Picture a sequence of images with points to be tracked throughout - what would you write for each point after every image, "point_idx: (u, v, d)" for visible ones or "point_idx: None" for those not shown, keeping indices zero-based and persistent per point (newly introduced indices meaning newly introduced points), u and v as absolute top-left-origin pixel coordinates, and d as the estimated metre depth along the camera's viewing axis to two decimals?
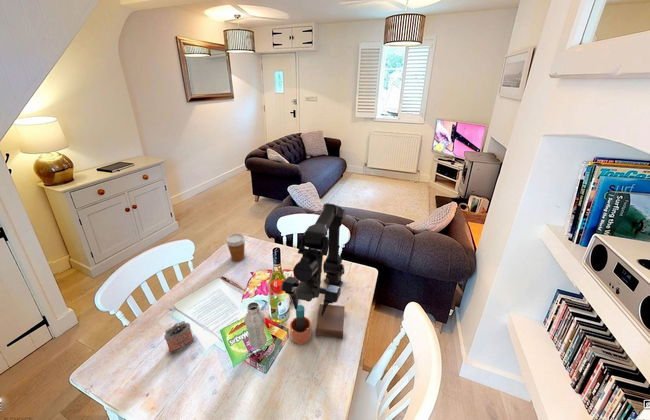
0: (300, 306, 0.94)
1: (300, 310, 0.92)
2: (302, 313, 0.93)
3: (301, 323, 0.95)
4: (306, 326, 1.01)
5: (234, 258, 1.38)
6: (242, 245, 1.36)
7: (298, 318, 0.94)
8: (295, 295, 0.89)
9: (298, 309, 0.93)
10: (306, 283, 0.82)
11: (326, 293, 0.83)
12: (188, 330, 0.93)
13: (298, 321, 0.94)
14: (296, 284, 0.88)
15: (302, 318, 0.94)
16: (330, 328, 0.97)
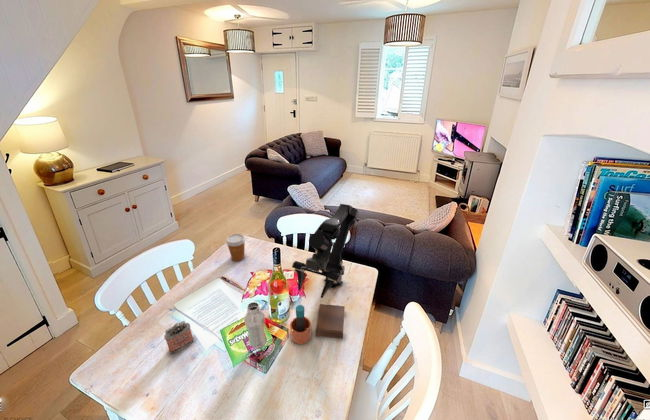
0: (300, 306, 0.94)
1: (300, 310, 0.92)
2: (302, 313, 0.93)
3: (301, 323, 0.95)
4: (306, 326, 1.01)
5: (234, 258, 1.38)
6: (242, 245, 1.36)
7: (298, 318, 0.94)
8: (301, 276, 1.02)
9: (298, 309, 0.93)
10: (315, 259, 0.99)
11: (329, 272, 0.97)
12: (188, 330, 0.93)
13: (298, 321, 0.94)
14: (305, 266, 1.03)
15: (302, 318, 0.94)
16: (330, 328, 0.97)
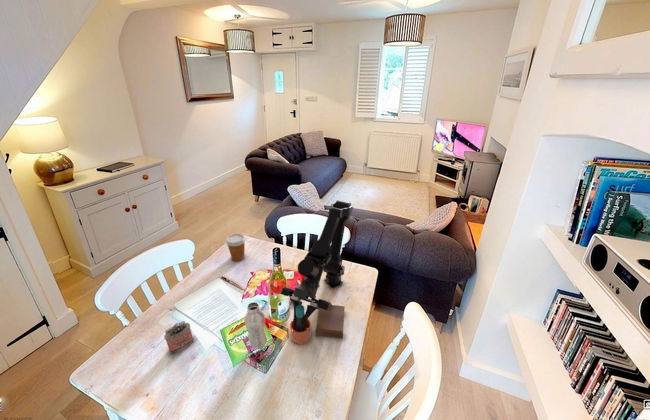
0: (300, 306, 0.94)
1: (300, 310, 0.92)
2: (302, 313, 0.93)
3: (301, 323, 0.95)
4: (306, 326, 1.01)
5: (234, 258, 1.38)
6: (242, 245, 1.36)
7: (298, 318, 0.94)
8: None
9: (298, 309, 0.93)
10: (304, 286, 0.94)
11: (319, 300, 0.93)
12: (188, 330, 0.93)
13: (298, 321, 0.94)
14: (294, 292, 0.99)
15: (302, 318, 0.94)
16: (330, 328, 0.97)
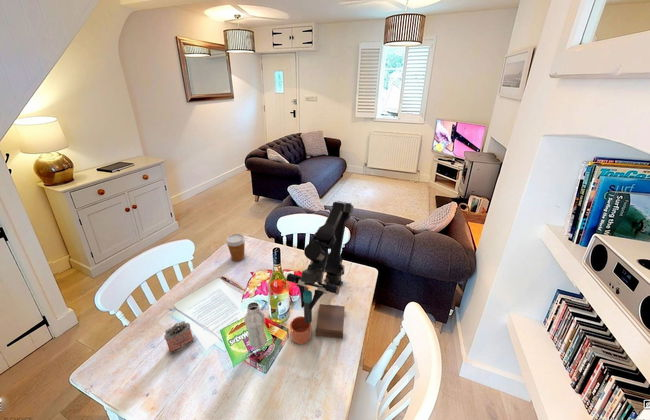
0: (307, 291, 0.92)
1: (308, 295, 0.91)
2: (310, 298, 0.91)
3: (309, 309, 0.93)
4: (306, 326, 1.01)
5: (234, 258, 1.38)
6: (242, 245, 1.36)
7: (306, 303, 0.92)
8: None
9: (306, 294, 0.91)
10: (311, 270, 0.92)
11: (327, 284, 0.91)
12: (188, 330, 0.93)
13: (306, 307, 0.92)
14: (300, 278, 0.96)
15: (310, 303, 0.92)
16: (330, 328, 0.97)
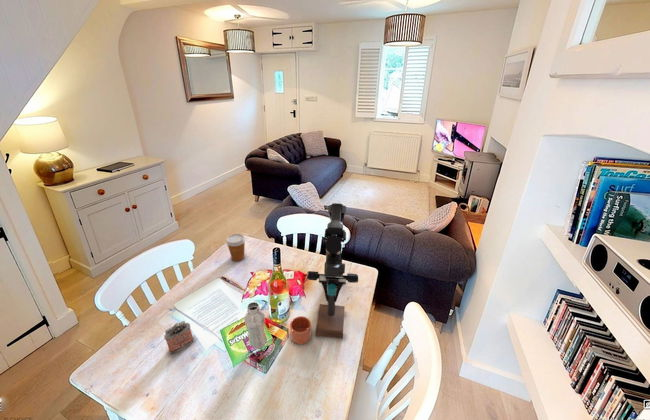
0: (331, 285, 0.96)
1: (333, 288, 0.95)
2: (335, 290, 0.95)
3: (334, 301, 0.97)
4: (306, 326, 1.01)
5: (234, 258, 1.38)
6: (242, 245, 1.36)
7: (331, 296, 0.96)
8: (326, 285, 0.98)
9: (331, 287, 0.95)
10: (332, 264, 0.96)
11: (348, 274, 0.97)
12: (188, 330, 0.93)
13: (331, 300, 0.97)
14: (319, 274, 1.00)
15: (334, 296, 0.97)
16: (330, 328, 0.97)
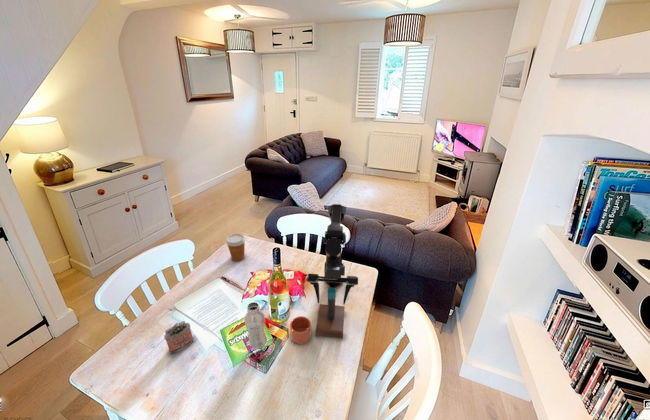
0: (331, 288, 0.97)
1: (333, 291, 0.96)
2: (335, 294, 0.96)
3: (333, 304, 0.98)
4: (306, 326, 1.01)
5: (234, 258, 1.38)
6: (242, 245, 1.36)
7: (331, 300, 0.97)
8: (318, 287, 0.99)
9: (331, 291, 0.96)
10: (332, 267, 0.97)
11: (348, 277, 0.98)
12: (188, 330, 0.93)
13: (331, 303, 0.97)
14: (319, 277, 1.00)
15: (334, 299, 0.97)
16: (330, 328, 0.97)
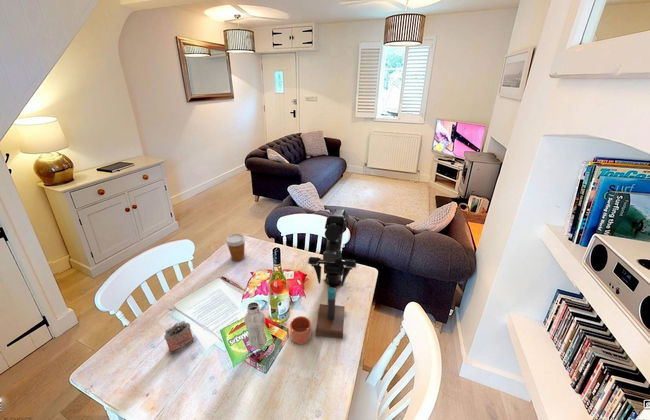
0: (331, 288, 0.97)
1: (333, 291, 0.96)
2: (335, 294, 0.96)
3: (333, 304, 0.98)
4: (306, 326, 1.01)
5: (234, 258, 1.38)
6: (242, 245, 1.36)
7: (331, 300, 0.97)
8: (319, 269, 1.07)
9: (331, 291, 0.96)
10: (330, 251, 1.04)
11: (345, 260, 1.04)
12: (188, 330, 0.93)
13: (331, 303, 0.97)
14: (320, 260, 1.09)
15: (334, 299, 0.97)
16: (330, 328, 0.97)
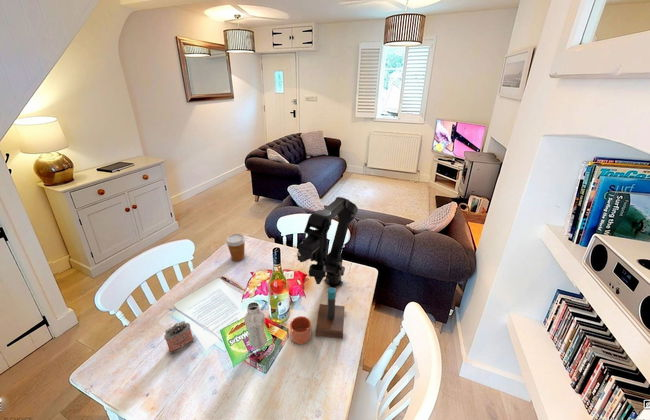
0: (331, 288, 0.97)
1: (333, 291, 0.96)
2: (335, 294, 0.96)
3: (333, 304, 0.98)
4: (306, 326, 1.01)
5: (234, 258, 1.38)
6: (242, 245, 1.36)
7: (331, 300, 0.97)
8: None
9: (331, 291, 0.96)
10: None
11: (310, 265, 1.00)
12: (188, 330, 0.93)
13: (331, 303, 0.97)
14: None
15: (334, 299, 0.97)
16: (330, 328, 0.97)
